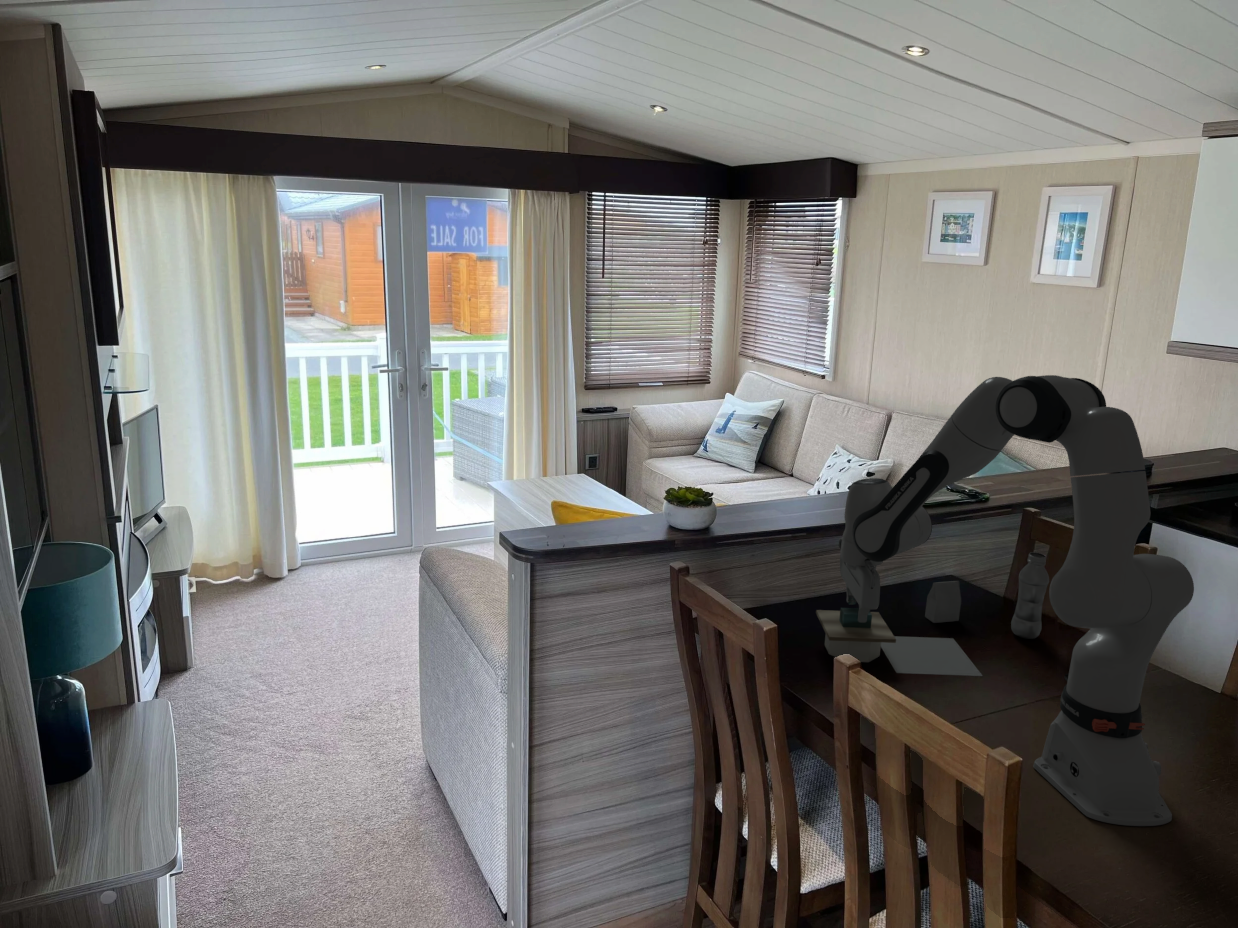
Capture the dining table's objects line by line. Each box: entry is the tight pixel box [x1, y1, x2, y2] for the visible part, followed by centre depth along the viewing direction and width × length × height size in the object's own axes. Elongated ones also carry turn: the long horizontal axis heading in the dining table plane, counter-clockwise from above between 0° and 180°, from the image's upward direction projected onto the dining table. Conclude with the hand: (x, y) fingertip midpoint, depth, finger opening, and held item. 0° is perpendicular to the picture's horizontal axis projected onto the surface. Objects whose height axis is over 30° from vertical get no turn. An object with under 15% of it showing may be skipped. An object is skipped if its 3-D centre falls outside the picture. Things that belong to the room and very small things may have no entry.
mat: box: [880, 635, 983, 677], centre depth 199 cm, size 18×18×1 cm
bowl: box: [824, 634, 882, 663], centre depth 199 cm, size 11×11×6 cm
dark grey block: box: [924, 580, 962, 624], centre depth 217 cm, size 4×7×10 cm, turn 105°
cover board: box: [815, 607, 896, 643], centre depth 198 cm, size 14×14×4 cm
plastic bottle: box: [1010, 551, 1050, 640], centre depth 209 cm, size 6×7×20 cm
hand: (856, 612), depth 198 cm, fingers open, 8 cm apart
